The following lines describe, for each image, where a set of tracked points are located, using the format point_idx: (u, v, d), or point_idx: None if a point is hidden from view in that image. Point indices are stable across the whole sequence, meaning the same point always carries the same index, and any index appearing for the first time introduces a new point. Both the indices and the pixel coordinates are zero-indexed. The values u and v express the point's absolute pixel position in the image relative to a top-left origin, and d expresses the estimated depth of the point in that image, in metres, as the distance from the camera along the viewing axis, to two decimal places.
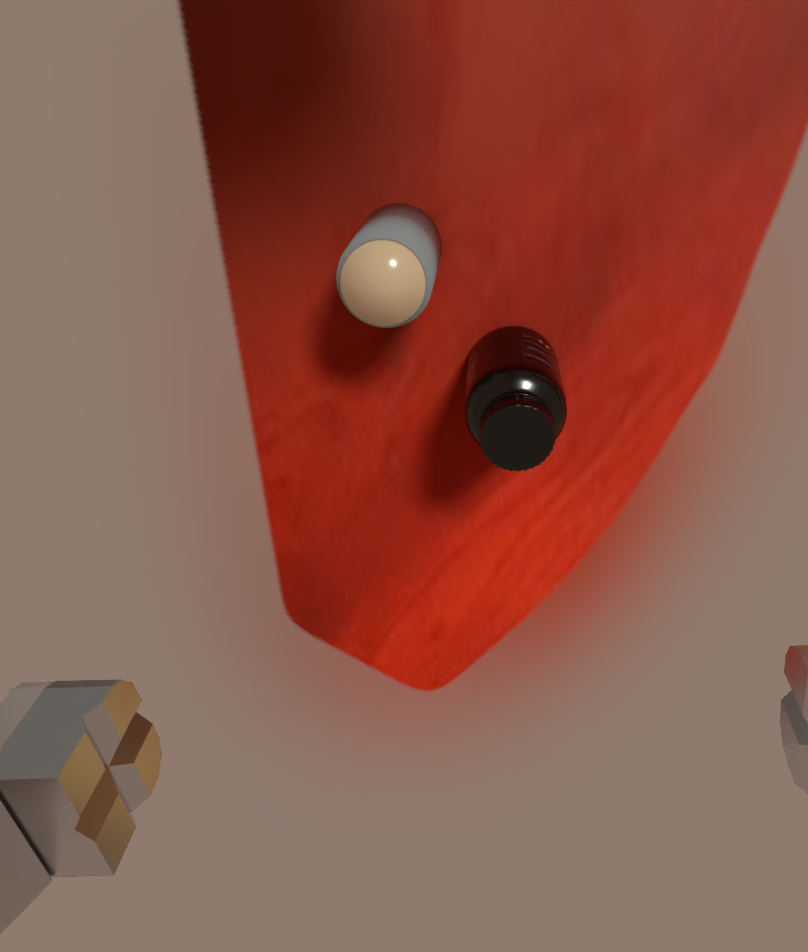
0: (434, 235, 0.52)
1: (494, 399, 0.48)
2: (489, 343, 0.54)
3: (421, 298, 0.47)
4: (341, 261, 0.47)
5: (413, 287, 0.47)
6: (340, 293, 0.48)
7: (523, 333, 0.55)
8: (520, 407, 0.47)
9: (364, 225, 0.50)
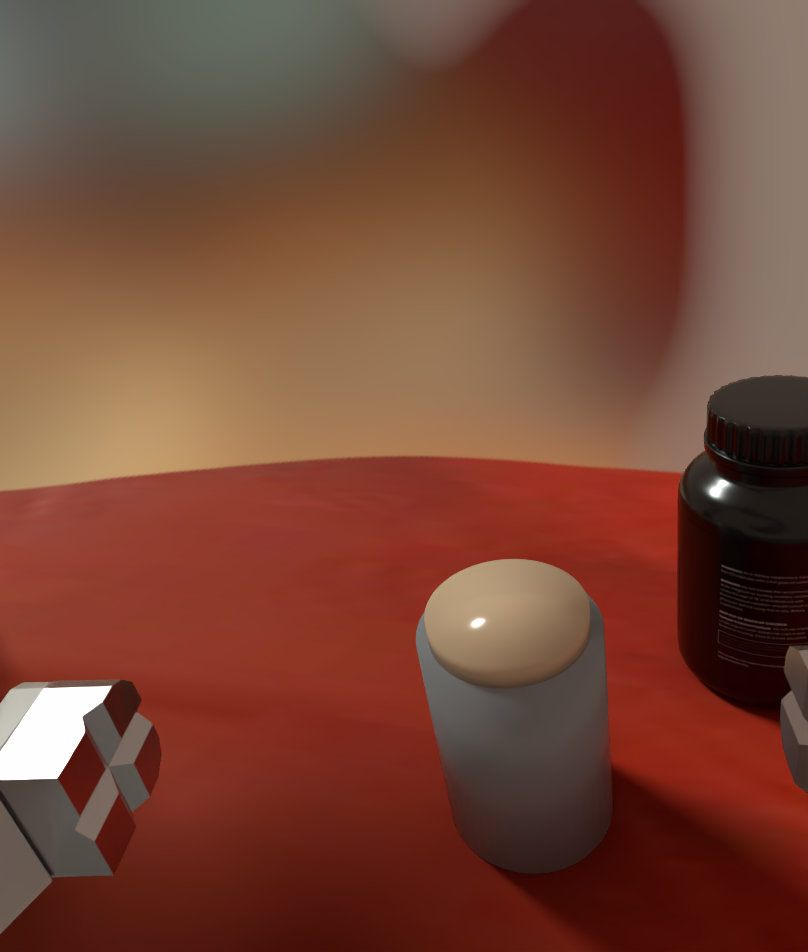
0: None
1: (721, 458, 0.27)
2: (692, 627, 0.31)
3: (539, 563, 0.26)
4: (455, 685, 0.23)
5: (517, 571, 0.26)
6: (521, 695, 0.22)
7: None
8: (714, 402, 0.28)
9: (441, 753, 0.26)
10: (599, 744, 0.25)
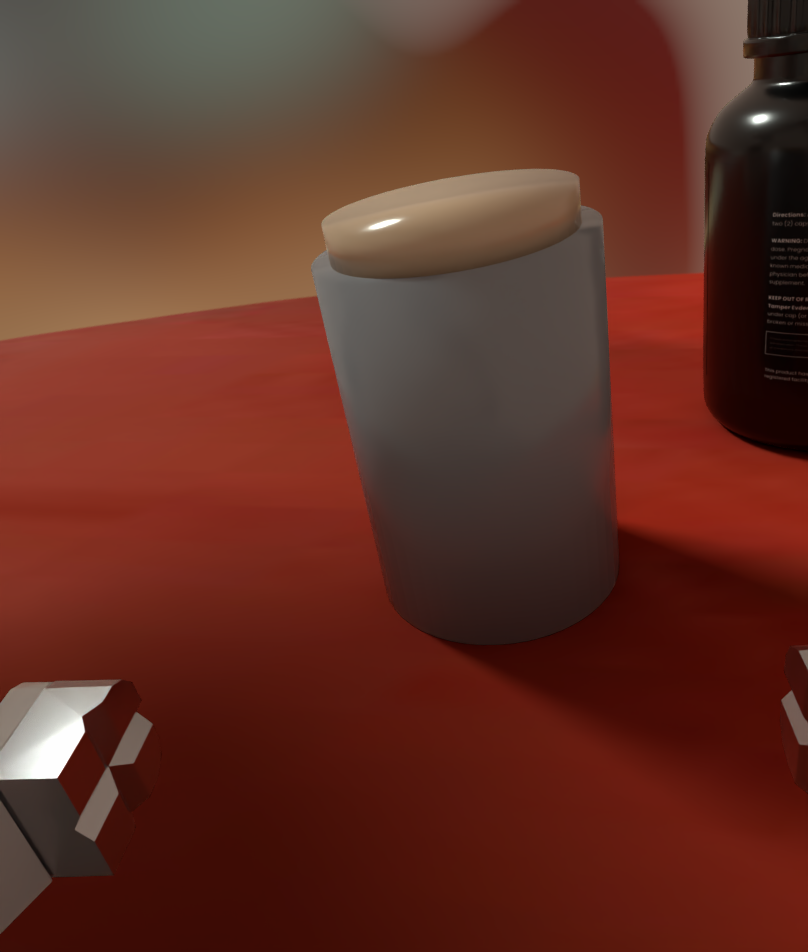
0: None
1: (772, 44, 0.19)
2: (727, 347, 0.22)
3: (503, 171, 0.17)
4: (361, 283, 0.14)
5: (470, 179, 0.17)
6: (466, 275, 0.13)
7: (704, 344, 0.25)
8: None
9: (358, 459, 0.17)
10: (597, 418, 0.16)
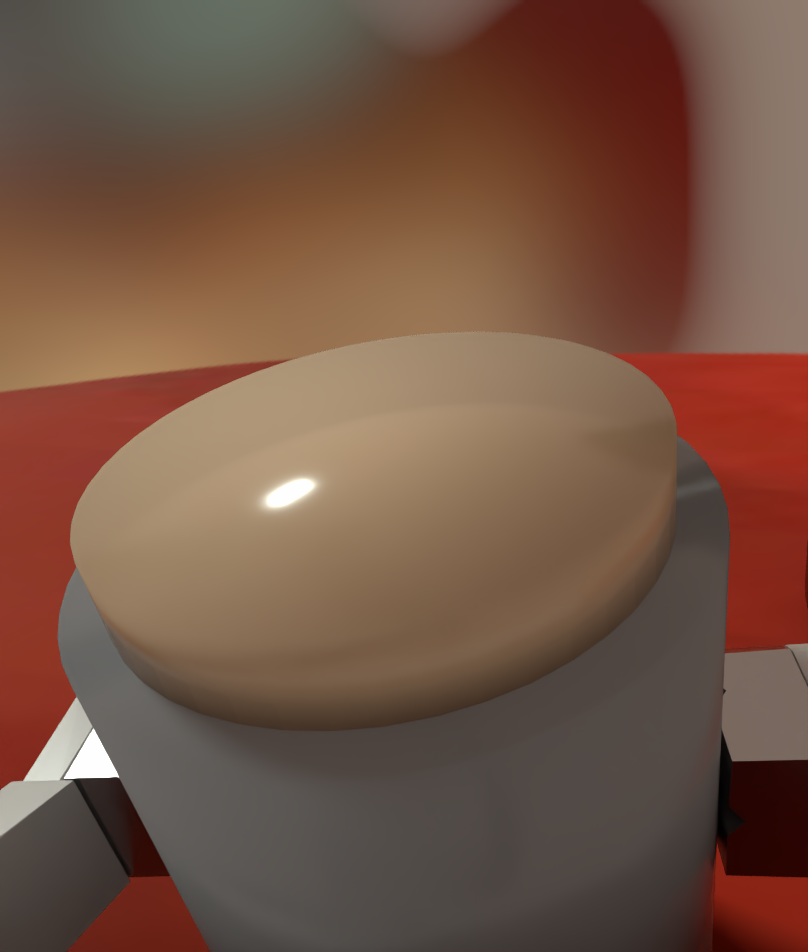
0: None
1: None
2: None
3: (497, 335, 0.09)
4: (125, 715, 0.05)
5: (429, 355, 0.08)
6: (382, 765, 0.05)
7: None
8: None
9: None
10: (698, 910, 0.07)
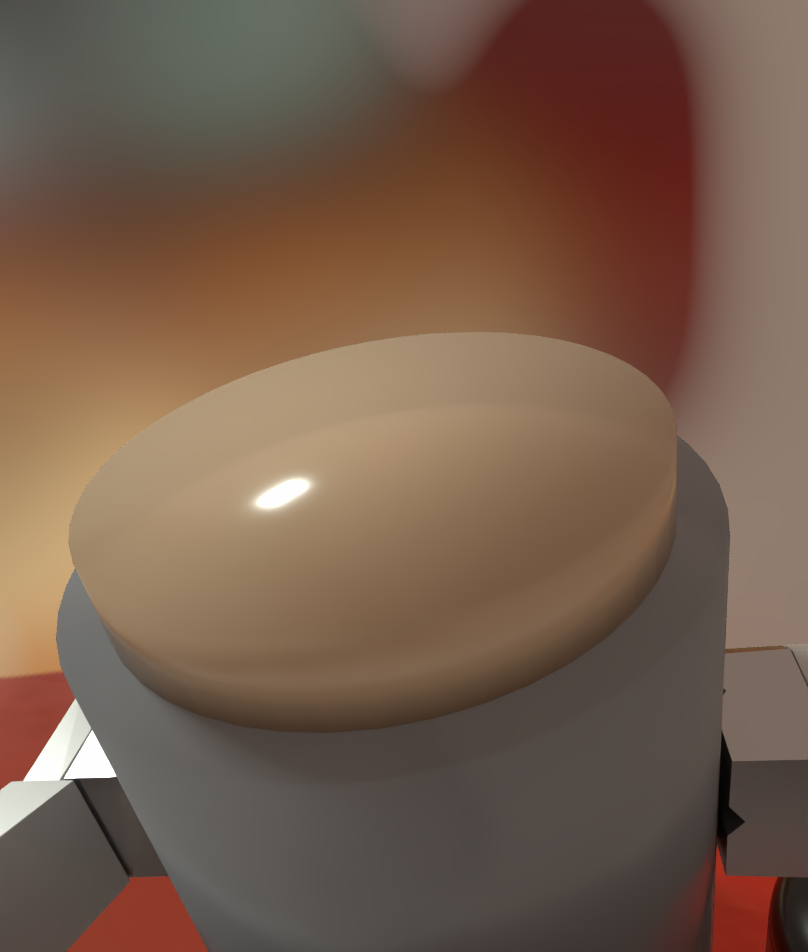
0: None
1: None
2: None
3: (497, 335, 0.09)
4: (123, 717, 0.05)
5: (428, 356, 0.08)
6: (382, 767, 0.05)
7: None
8: None
9: None
10: (697, 912, 0.07)
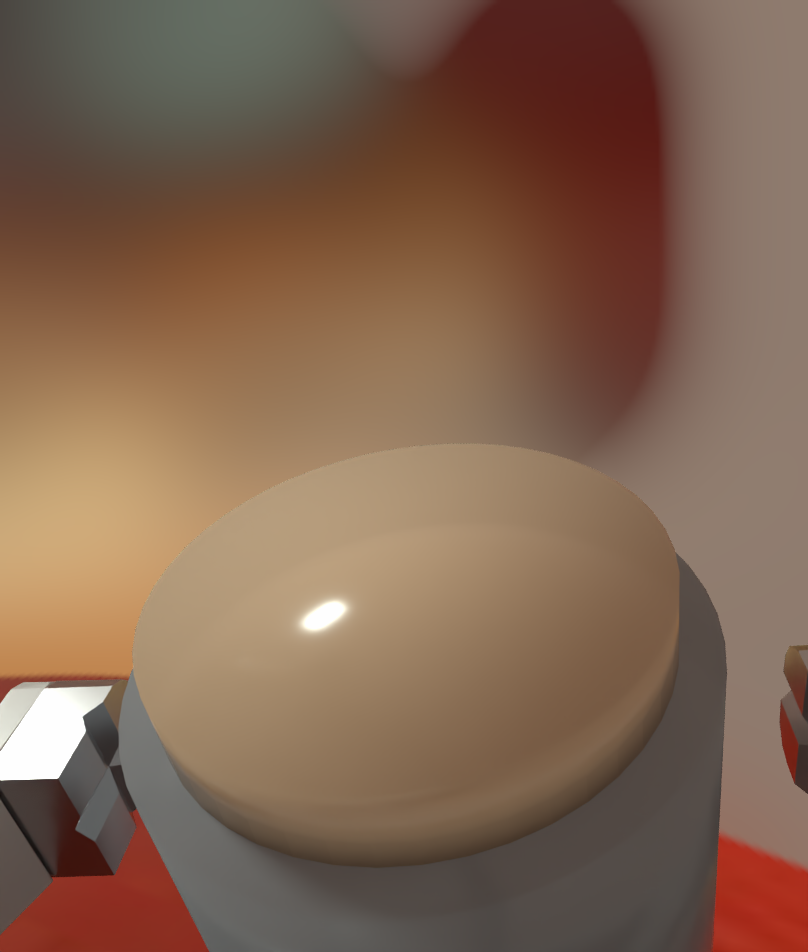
0: None
1: None
2: None
3: (513, 450, 0.09)
4: (189, 843, 0.06)
5: (450, 471, 0.09)
6: (423, 905, 0.05)
7: None
8: None
9: None
10: None
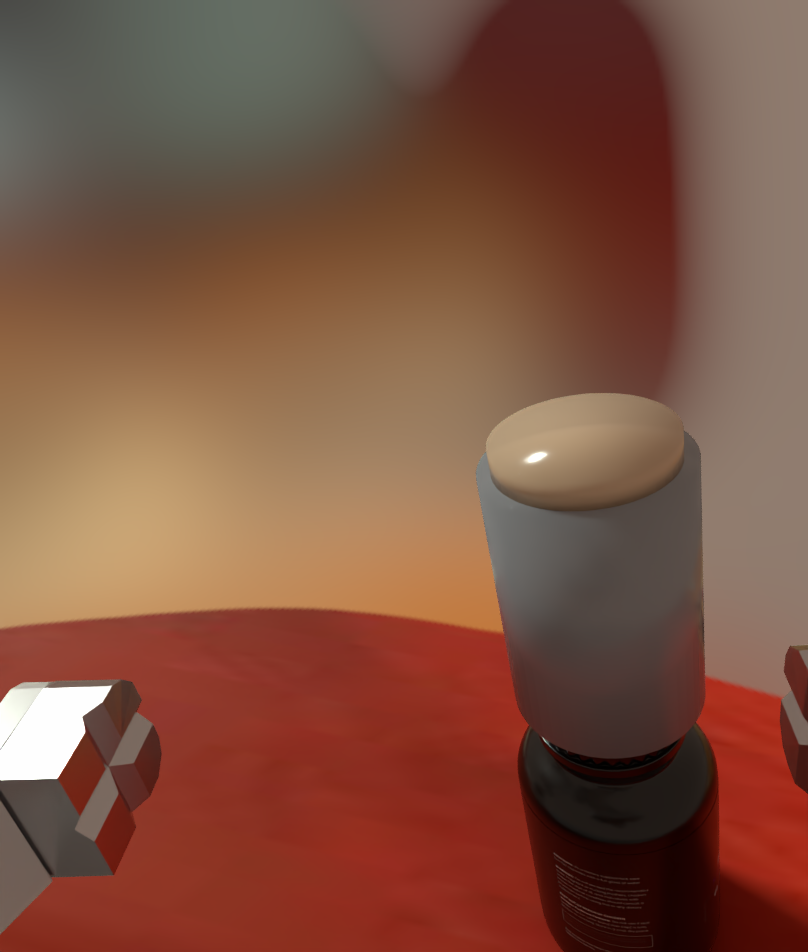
0: None
1: (545, 743, 0.25)
2: (542, 894, 0.29)
3: (615, 394, 0.22)
4: (528, 512, 0.19)
5: (590, 403, 0.22)
6: (610, 514, 0.19)
7: None
8: None
9: (507, 617, 0.22)
10: (695, 594, 0.21)
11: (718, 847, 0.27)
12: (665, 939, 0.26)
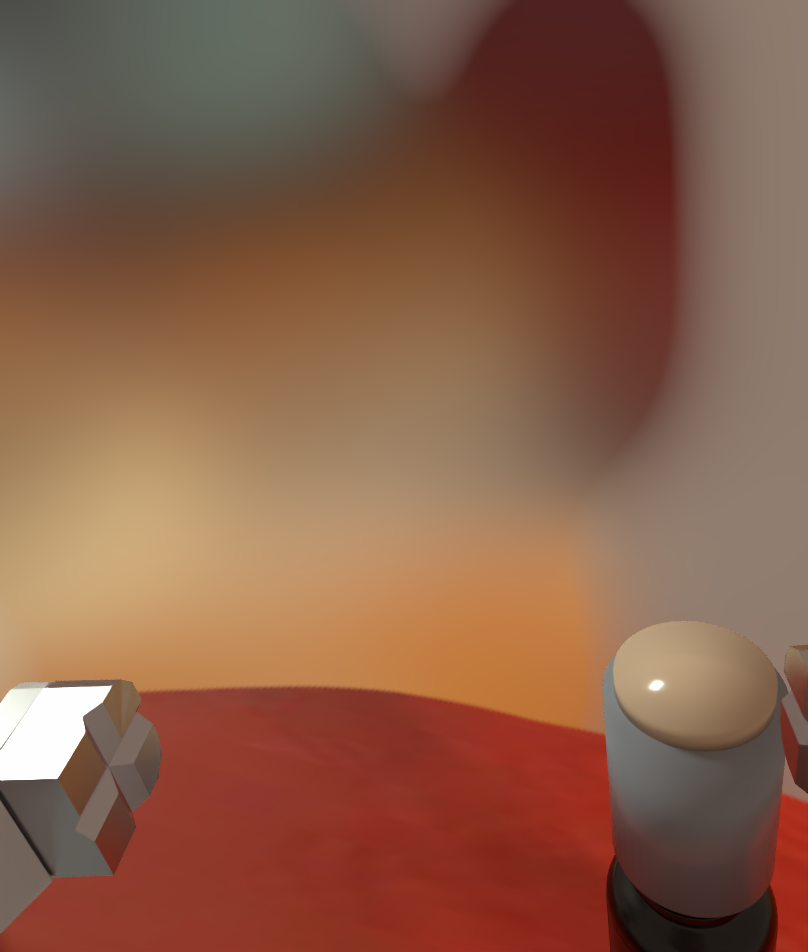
0: None
1: (638, 889, 0.31)
2: None
3: (713, 626, 0.28)
4: (656, 747, 0.25)
5: (693, 634, 0.27)
6: (724, 758, 0.24)
7: None
8: None
9: (622, 804, 0.28)
10: (779, 798, 0.26)
11: None
12: None
